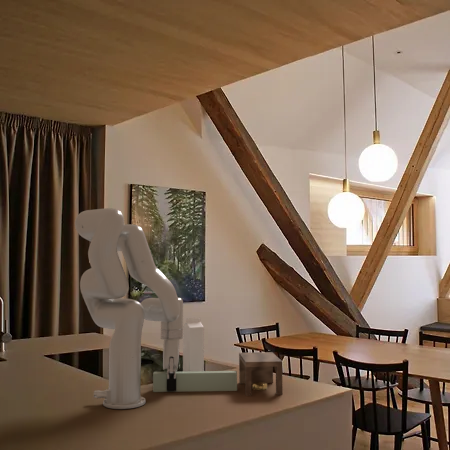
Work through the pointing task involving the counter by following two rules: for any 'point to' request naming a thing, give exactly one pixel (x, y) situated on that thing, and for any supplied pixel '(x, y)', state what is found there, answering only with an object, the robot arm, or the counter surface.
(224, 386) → the slat
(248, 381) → the brown wooden stool
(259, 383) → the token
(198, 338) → the milk
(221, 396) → the counter surface
